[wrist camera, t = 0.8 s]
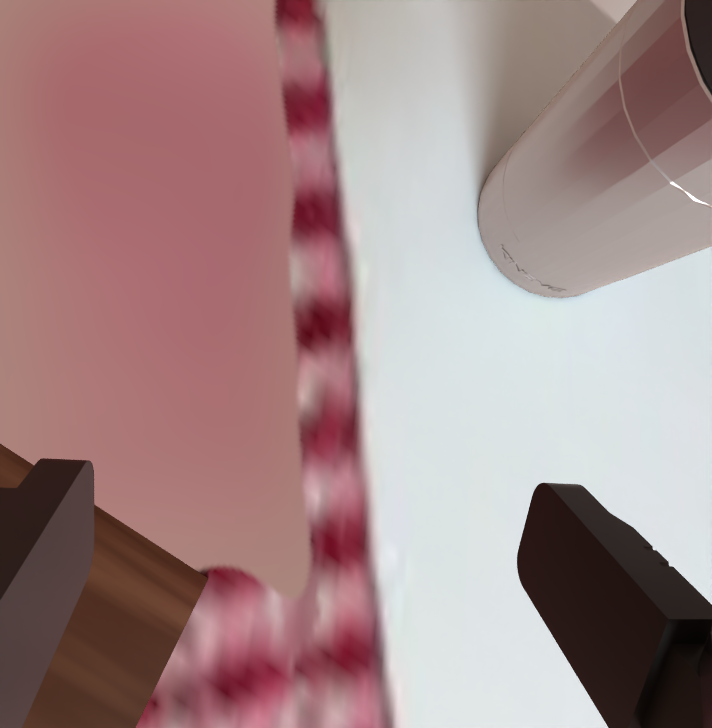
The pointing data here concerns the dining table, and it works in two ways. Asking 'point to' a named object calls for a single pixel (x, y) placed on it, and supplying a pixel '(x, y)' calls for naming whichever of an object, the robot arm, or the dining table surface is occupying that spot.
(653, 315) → the dining table surface
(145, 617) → the stand
